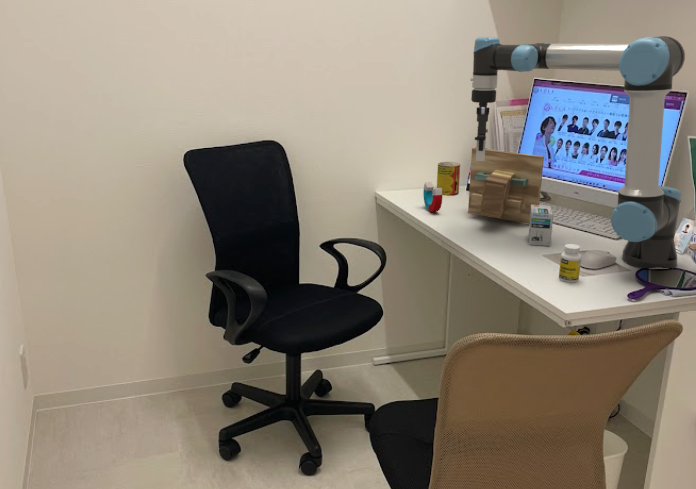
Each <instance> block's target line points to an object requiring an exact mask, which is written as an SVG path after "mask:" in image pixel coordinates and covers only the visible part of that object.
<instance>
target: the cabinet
mask: <svg viewBox="0 0 696 489" xmlns="http://www.w3.org/2000/svg"><path fill="white" fill-rule="evenodd" d="M512 178H514V173H511V172H505V171H500V170H495V171H494V172H493V173H492V174H490V175H489V176H488V177H487V178H486V179H485V183H484V189H483V196H482V202H481V209H480V214H483V215H488V216H493V217H498V218H501V216H502V215H503V213H504V212H505V211H506V205H507V199H508V193H509V188H510V182H511V179H512ZM488 216H487V217H488ZM493 217H492V218H493ZM498 218H497V219H498Z"/></svg>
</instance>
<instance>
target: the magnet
mask: <svg viewBox="0 0 696 489" xmlns="http://www.w3.org/2000/svg"><path fill="white" fill-rule="evenodd" d="M423 202H424V205H425V208H426V210H427V212H430V213H435V212H439V211H440V209H441V207H442V204H443V195H442V188H437V187H434V184H433V182H432V181H429V182H428V181H427V182H424V185H423Z"/></svg>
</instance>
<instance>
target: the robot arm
mask: <svg viewBox="0 0 696 489" xmlns="http://www.w3.org/2000/svg"><path fill="white" fill-rule="evenodd" d="M685 59H686V53H685V49H684V47H683V45H682V43H680V41H679V40H677V39H675V38H673V37H671V36H667V35H665V36H664V35H663V36H662V35H661V36H646V37H640V38H639V39H636V40H634V41H632V42H631V43H544V42H537V43H527V44H526V43H525V44H524V43H523V44H501V42H500V38H499V37H492V36H489V37H488V36H485V37H480V36H479V37H477V38H475V40H474V48H473V62H472V64H473V65H472V66H473V67H472V68H473V69H472V77H470V81H471V82H472V83H471V84H472V85H471V86H472V88H473V89H472V90H471V99H470V100H471V101H472V103H475V104H478V106H477V107H476V111H475V112H476V113H475V114H476V122H477V123H478V124H477V134H476V136H475V137H474V141H476V145H475V146H476V147H475V148H476V161H484V160H485V149H486V143H487V141H486V140H487V136H486V135H487V134H486V133H489V131H488V130H489V129H488V128H487V122H489V115H490V107H487V106H488V103H489V104H491V103H495V102H496V100H497V90H496V89H497V88H498V71H510V72H519V73H522V72H523V73H524V72H531V71H533V70H536V69H537V70H539V69H541V70H574V71H575V70H578V71H607V72H608V71H609V72H611V71H612V72H613V71H615V72H619V73H620V75H621V76H622V78H623V79H624V83H623V85H624V86H623V88H624V89H623V91H624V93H625V94H627V96H629V105H628V121H627V138H626V141H627V142H626V156H625V157H626V158H625V174H624V175H625V176H624V185H623V186H621V188H620V189H619V190H618V194H617V205H616V207H615V208H613V211H612V213H611V214H610V224H611V228H612V230H613V232H614V233H615V234H616V235H617V236H618V237H619V238H621V239H622V240H624V241H627V242H626V244H625V246H624V248H623V251H622V254H621V255H622V256H621V259H622V261H623V262H624V263H625V264H628V265H630V266H632V267H636V268H640V269H644V268H652V267H662V268H672V269H674V268H675V267H677V264H678V255H677V249H676V248H677V247H676V243H675V235H676V230H677V223H678V216H679V211H680V206H681V205H680V204H681V203H682V202H681V200H682V199H681V198H682V197H681V196H682V193H681V190H679V189H677V188H674V187H671V186H666V185H665V186H664V185H659V184H660V183H659V182H660V168H661V158H662V144H663V143H662V142H663V140H662V139H663V128H664V127H663V126H664V115H665V114H664V112H665V99H666V96H667V95H668V94H669V93H670V92H671V91H672V89H673V78H674V77H675V76H676V75H677V74H678V73H679V72H680V71H681V69H682V68H683V66H684V65H685V64H684V63H685Z"/></svg>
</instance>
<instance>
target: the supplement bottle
mask: <svg viewBox="0 0 696 489" xmlns="http://www.w3.org/2000/svg"><path fill="white" fill-rule="evenodd" d="M580 249H581V247H580V245H578V244H573V243H567V244H566V243H565V244H564V249H563V250H564V251H563V252H562V253H561V254H560V261H559V271H558V279H559V280H560V281H563V282H565V283H576V282H578V281H579V280H580V272H581V264H582V255H581V254H580Z"/></svg>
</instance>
